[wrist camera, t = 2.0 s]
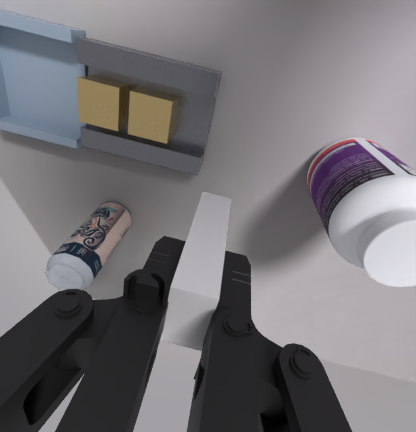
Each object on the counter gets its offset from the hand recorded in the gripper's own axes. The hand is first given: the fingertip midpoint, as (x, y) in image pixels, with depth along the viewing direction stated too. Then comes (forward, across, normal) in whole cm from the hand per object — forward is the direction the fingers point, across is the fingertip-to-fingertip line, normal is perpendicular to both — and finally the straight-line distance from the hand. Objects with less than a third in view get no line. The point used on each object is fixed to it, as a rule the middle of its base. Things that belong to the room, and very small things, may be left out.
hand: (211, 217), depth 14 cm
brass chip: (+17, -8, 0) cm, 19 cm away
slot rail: (+18, -9, 0) cm, 20 cm away
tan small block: (+17, -13, 0) cm, 21 cm away
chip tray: (+18, -20, 0) cm, 27 cm away
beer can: (+18, -12, -14) cm, 26 cm away
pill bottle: (+18, +13, -1) cm, 22 cm away
